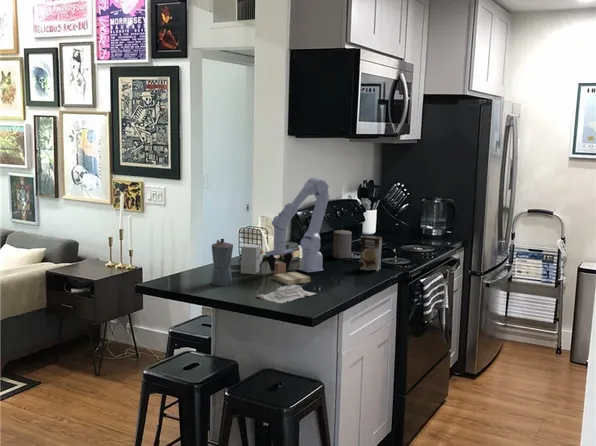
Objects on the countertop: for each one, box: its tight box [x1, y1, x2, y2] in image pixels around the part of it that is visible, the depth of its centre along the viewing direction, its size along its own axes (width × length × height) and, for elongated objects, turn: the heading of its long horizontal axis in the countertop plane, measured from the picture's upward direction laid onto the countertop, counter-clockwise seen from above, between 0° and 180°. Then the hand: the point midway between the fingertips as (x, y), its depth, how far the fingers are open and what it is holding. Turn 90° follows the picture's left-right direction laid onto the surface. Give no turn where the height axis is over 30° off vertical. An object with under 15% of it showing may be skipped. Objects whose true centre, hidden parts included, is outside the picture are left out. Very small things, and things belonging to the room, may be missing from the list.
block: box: [272, 261, 287, 274], centre depth 290 cm, size 4×4×5 cm
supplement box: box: [240, 244, 261, 275], centre depth 290 cm, size 7×7×13 cm
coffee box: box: [359, 235, 383, 272], centre depth 303 cm, size 9×6×16 cm
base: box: [272, 271, 311, 286], centre depth 277 cm, size 12×12×2 cm
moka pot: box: [210, 238, 234, 287], centre depth 267 cm, size 10×15×20 cm, turn 27°
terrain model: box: [256, 284, 317, 304], centre depth 251 cm, size 17×23×5 cm
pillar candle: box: [332, 229, 353, 260], centre depth 331 cm, size 10×10×15 cm
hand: (279, 270), depth 291 cm, fingers open, 7 cm apart
